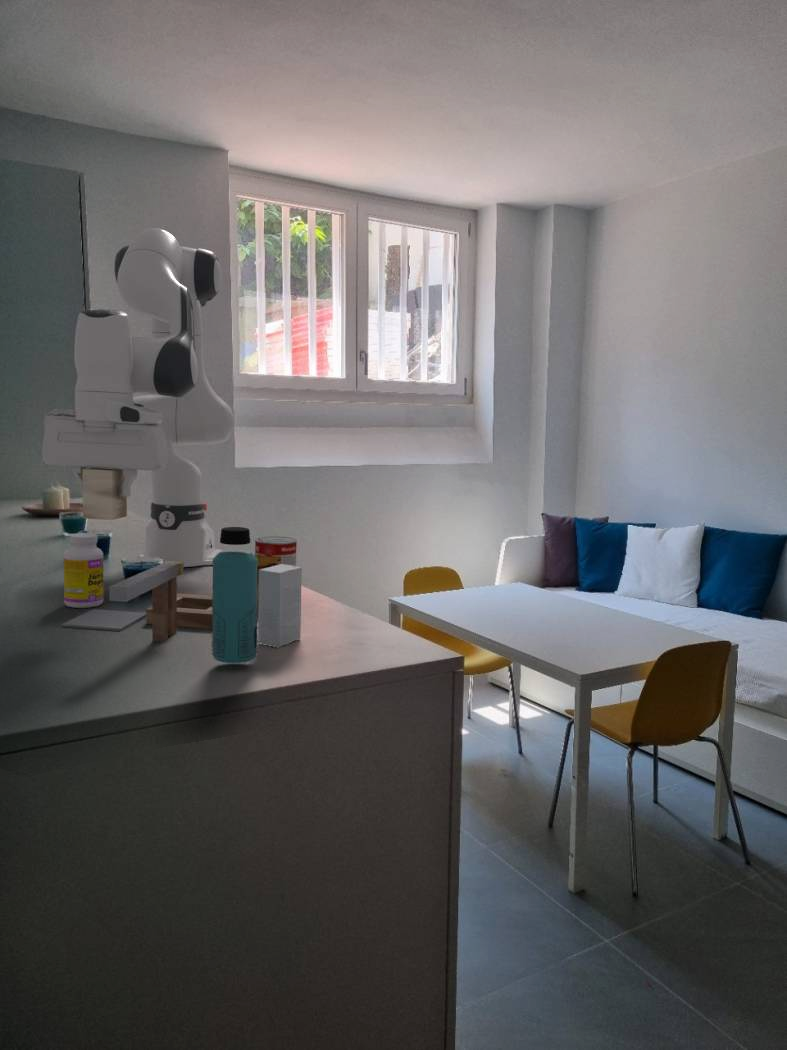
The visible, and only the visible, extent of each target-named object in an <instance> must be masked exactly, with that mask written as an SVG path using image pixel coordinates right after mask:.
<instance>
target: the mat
mask: <svg viewBox="0 0 787 1050" xmlns="http://www.w3.org/2000/svg"><path fill="white" fill-rule="evenodd" d="M144 618H146V612H136V611H123V610H110V609H97V608H93V609H91V610H89V611H86V612H84V613H83V614H80V615H79V616H76V617H74V618H73V619H70V620H68V621H66V622H64V623H62V627H65V628H66V627H67V628H77V629H91V630H100V631H101V630H103V631H116V632H121V631H123V630H125V629H127V628H129V627H130V626H132V625H134V624H135V623H137V622H139V621H141V620H142V619H144Z"/></svg>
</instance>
